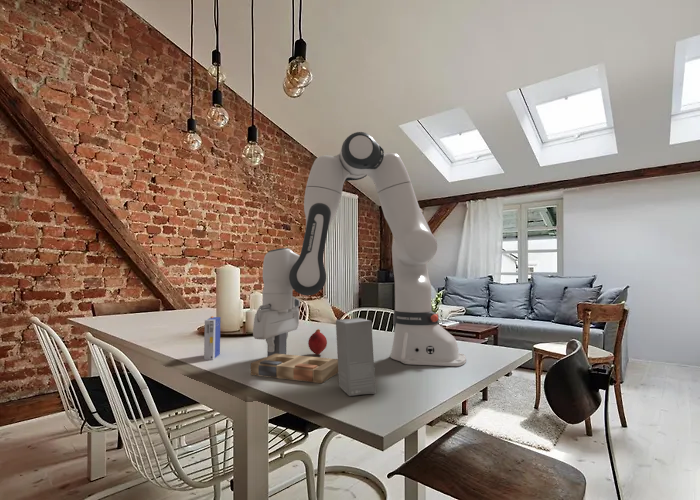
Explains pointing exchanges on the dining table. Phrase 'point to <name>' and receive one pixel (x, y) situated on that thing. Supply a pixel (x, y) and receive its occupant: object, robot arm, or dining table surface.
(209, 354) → the walkman
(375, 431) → the dining table surface
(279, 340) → the plug
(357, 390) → the skincare box
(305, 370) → the socket board
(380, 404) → the dining table surface
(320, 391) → the dining table surface
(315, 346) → the onion
